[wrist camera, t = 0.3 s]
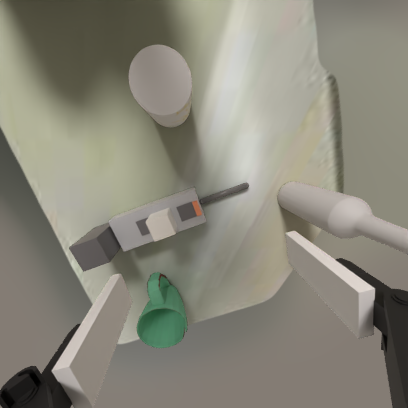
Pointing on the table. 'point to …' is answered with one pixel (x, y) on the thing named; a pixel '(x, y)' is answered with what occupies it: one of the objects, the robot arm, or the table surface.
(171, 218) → the block
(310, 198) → the bottle
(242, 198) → the table surface
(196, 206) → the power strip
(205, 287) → the table surface
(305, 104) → the table surface
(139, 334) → the mug
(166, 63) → the pale pink cylinder
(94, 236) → the grey rectangular block
